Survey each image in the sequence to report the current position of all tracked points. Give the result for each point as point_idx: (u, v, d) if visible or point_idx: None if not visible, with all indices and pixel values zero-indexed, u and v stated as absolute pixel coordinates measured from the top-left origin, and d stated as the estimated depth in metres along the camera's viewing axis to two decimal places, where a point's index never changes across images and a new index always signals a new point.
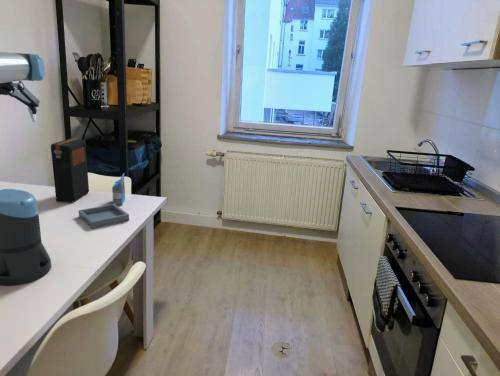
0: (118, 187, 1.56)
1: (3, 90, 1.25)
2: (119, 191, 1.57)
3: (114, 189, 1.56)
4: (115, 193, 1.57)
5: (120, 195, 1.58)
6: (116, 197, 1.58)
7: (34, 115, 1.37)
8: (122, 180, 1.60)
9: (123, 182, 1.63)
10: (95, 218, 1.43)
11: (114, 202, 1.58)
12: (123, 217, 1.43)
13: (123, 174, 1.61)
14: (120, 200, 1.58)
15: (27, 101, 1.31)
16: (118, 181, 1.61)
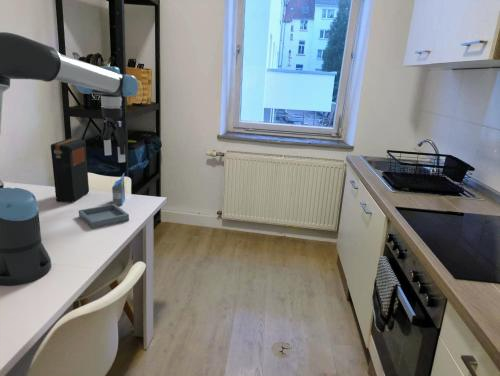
0: (118, 187, 1.56)
1: (109, 123, 1.50)
2: (119, 191, 1.57)
3: (114, 189, 1.56)
4: (115, 193, 1.57)
5: (120, 195, 1.58)
6: (116, 197, 1.58)
7: (122, 157, 1.51)
8: (122, 180, 1.60)
9: (123, 182, 1.63)
10: (95, 218, 1.43)
11: (114, 202, 1.58)
12: (123, 217, 1.43)
13: (123, 174, 1.61)
14: (120, 200, 1.58)
15: None
16: (118, 181, 1.61)
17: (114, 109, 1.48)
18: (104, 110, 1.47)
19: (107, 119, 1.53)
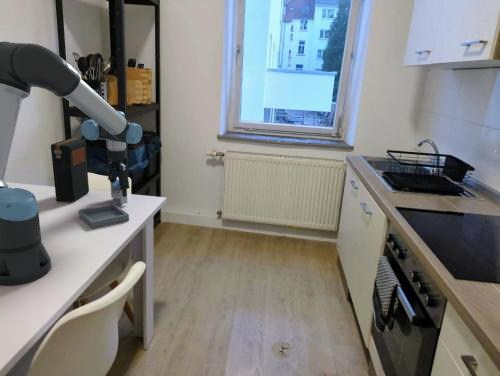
0: (118, 187, 1.56)
1: (114, 165, 1.56)
2: (119, 191, 1.57)
3: (114, 189, 1.56)
4: (115, 193, 1.57)
5: None
6: (116, 197, 1.58)
7: (124, 199, 1.58)
8: None
9: None
10: (95, 218, 1.43)
11: (114, 202, 1.58)
12: (123, 217, 1.43)
13: None
14: None
15: None
16: (118, 181, 1.61)
17: (119, 152, 1.53)
18: (109, 153, 1.53)
19: (112, 160, 1.58)
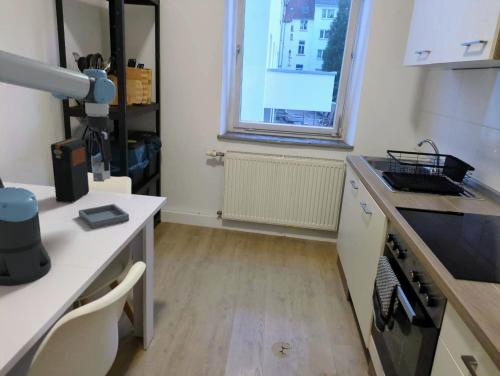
0: (99, 159, 1.34)
1: (94, 133, 1.33)
2: (100, 164, 1.35)
3: (94, 162, 1.34)
4: (96, 166, 1.35)
5: None
6: (97, 171, 1.35)
7: (106, 173, 1.36)
8: None
9: None
10: (95, 218, 1.43)
11: (95, 177, 1.36)
12: (123, 217, 1.43)
13: None
14: None
15: None
16: (100, 153, 1.39)
17: (100, 117, 1.31)
18: (88, 118, 1.31)
19: (92, 128, 1.36)
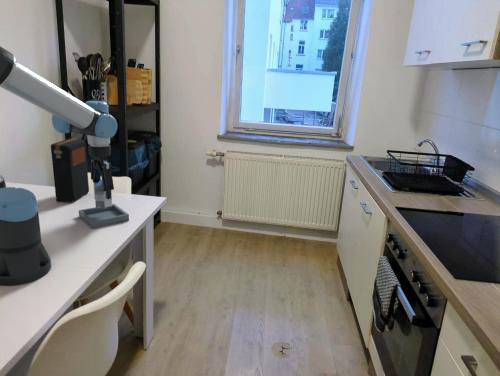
0: (101, 188, 1.37)
1: (96, 163, 1.36)
2: (102, 192, 1.38)
3: (97, 190, 1.37)
4: (98, 195, 1.38)
5: None
6: (99, 199, 1.39)
7: (108, 201, 1.39)
8: None
9: None
10: (95, 218, 1.43)
11: (97, 205, 1.39)
12: (123, 217, 1.43)
13: None
14: None
15: None
16: None
17: (101, 148, 1.34)
18: (90, 149, 1.34)
19: (94, 157, 1.39)
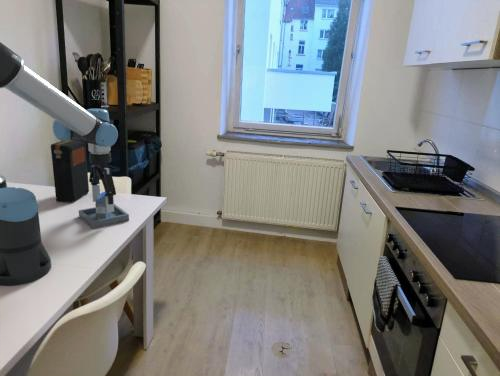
0: (102, 200, 1.39)
1: (97, 170, 1.37)
2: (103, 205, 1.39)
3: (97, 202, 1.39)
4: (98, 207, 1.39)
5: (104, 209, 1.40)
6: (99, 211, 1.40)
7: (110, 207, 1.38)
8: None
9: None
10: (95, 218, 1.43)
11: (97, 217, 1.40)
12: (123, 217, 1.43)
13: None
14: (104, 215, 1.41)
15: None
16: (103, 193, 1.44)
17: (102, 155, 1.35)
18: (91, 156, 1.35)
19: (95, 164, 1.40)
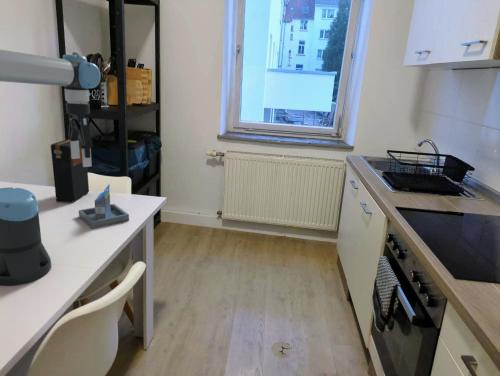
0: (101, 201, 1.39)
1: (74, 121, 1.29)
2: (102, 205, 1.39)
3: (97, 203, 1.39)
4: (98, 207, 1.39)
5: (104, 209, 1.40)
6: (99, 212, 1.40)
7: (87, 161, 1.30)
8: (106, 192, 1.42)
9: (108, 194, 1.45)
10: (95, 218, 1.43)
11: (97, 217, 1.40)
12: (123, 217, 1.43)
13: (108, 185, 1.43)
14: (104, 215, 1.41)
15: (84, 140, 1.28)
16: (102, 193, 1.44)
17: (79, 105, 1.27)
18: (67, 105, 1.27)
19: (73, 116, 1.32)
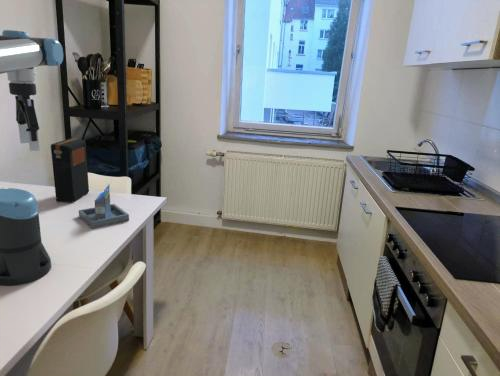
0: (101, 201, 1.39)
1: (18, 103, 1.21)
2: (102, 205, 1.39)
3: (97, 203, 1.39)
4: (98, 207, 1.39)
5: (104, 209, 1.40)
6: (99, 212, 1.40)
7: (34, 144, 1.22)
8: (106, 192, 1.42)
9: (108, 194, 1.45)
10: (95, 218, 1.43)
11: (97, 217, 1.40)
12: (123, 217, 1.43)
13: (108, 185, 1.43)
14: (104, 215, 1.41)
15: None
16: (102, 193, 1.44)
17: (23, 84, 1.19)
18: (10, 85, 1.19)
19: (18, 98, 1.24)
